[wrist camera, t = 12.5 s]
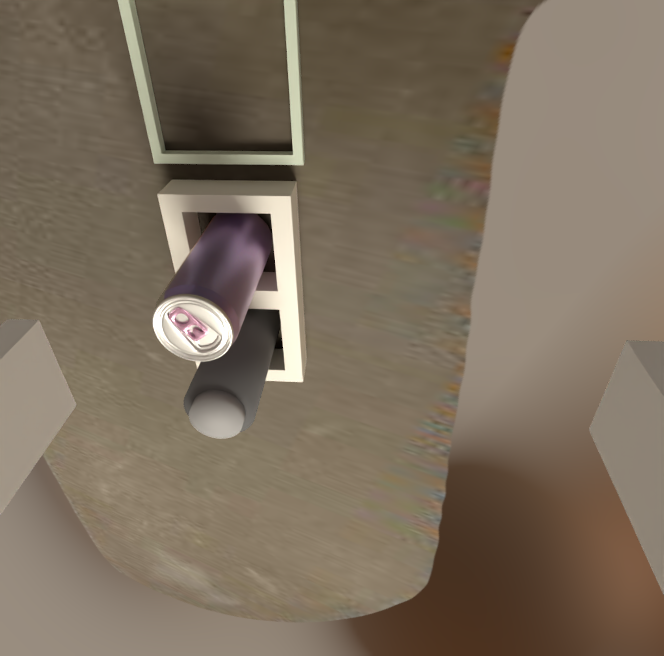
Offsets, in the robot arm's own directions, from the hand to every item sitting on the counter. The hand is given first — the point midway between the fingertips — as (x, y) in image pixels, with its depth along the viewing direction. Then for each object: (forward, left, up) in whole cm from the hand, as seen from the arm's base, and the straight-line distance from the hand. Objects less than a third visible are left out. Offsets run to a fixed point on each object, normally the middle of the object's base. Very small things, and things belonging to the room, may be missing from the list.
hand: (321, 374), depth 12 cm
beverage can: (+12, -11, -33) cm, 37 cm away
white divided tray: (+17, -11, -33) cm, 38 cm away
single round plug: (+22, -11, -33) cm, 41 cm away
